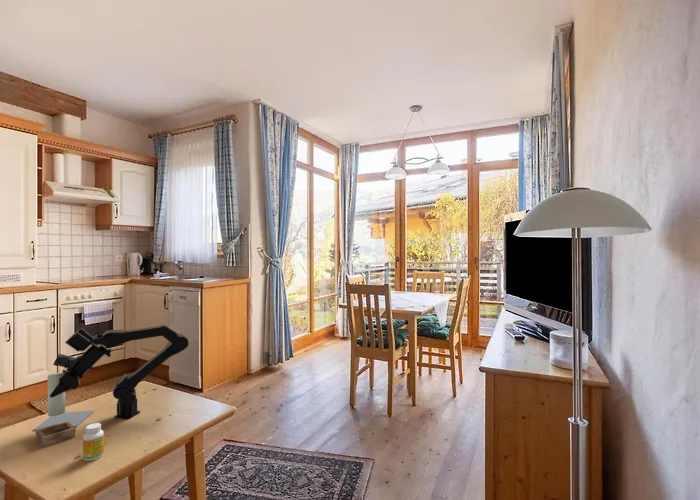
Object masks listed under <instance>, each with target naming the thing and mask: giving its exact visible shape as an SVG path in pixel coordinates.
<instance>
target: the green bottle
mask: <svg viewBox="0 0 700 500" xmlns="http://www.w3.org/2000/svg"><path fill="white" fill-rule="evenodd" d="M62 374H64V372H62V371H61V372H60V371H59V372H54V373H50V374H48V375H47V416H48V417H51V416H57V415H60V414H63V413H65V412H66V391H65V392H63V393H61V394H59V395H57V396H55V397H52V398H51V397H50V394H51V393H52V392H53V390H54V389H55V388H56V387H57V385H58V384H59V377H60V376H62Z"/></svg>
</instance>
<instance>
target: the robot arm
mask: <svg viewBox="0 0 700 500" xmlns="http://www.w3.org/2000/svg"><path fill="white" fill-rule="evenodd" d="M157 337H163V338H164V339H166V340H167V341H168V343H167V344H166V345H165V347H164V348H163V349H162V350H161V351H159V352H158V353H156V354H155V355H154V356H153V357H151V359H149V360H148V361H147V362H145V363H144V364H143V365H141V366H140V367H139V368H138V369H136V371H134V372H133V373H131V374H128V375H127V373H124V374H123V375H122V376H121V377H120V378H118V379H116V380H115V383H114V384H113V386H112V387H113V388H112V396H113V397H114V399H116V400H117V404H116V415H114V416H113V417H114V418H115V419H126V420H129V419H131V418H132V417H134V416H137V415H138V414H140V413H141V410H138V398H137V391H136V387H138V385H139V383H140V382H142V381H143V379H145V378H146V377H148V376H149V375H150V374H151V373H152V372H153V371H155V370H156V369H157V368H159V367H160V366H161V365H162V364H163V363H164V362H165V361H167V360H168V359H169V358H171V357H173V356H174V355H177V354H179V353H181V352H183V351H184V350H185V349H187V348H188V347H189V343H190V342H189V339H188V337H187V336H186V335H185V334H183V333H177V332H176V331H175V330H173V329H171V328H169V326H168V325H166V324H161V325H155V326H149V327H143V328H137V329H128V330H125V329H108V330H106V331H104V333H100V334H96V335H91V334H90V333H89V332H87V331H86V330H85V329H84V328H83V327H82V328H80V329H79V330H77V331H76V332H75V333H72V334H71V335H70V337H69V338H67V340H66V341H65V342H64V343H65V344H67V345H68V346H69V347H71V348H73V350H75V351H76V352H83V353H82V354H81V355H78V356H77V357H74V356H70V355H67V354H63V353H58V354H57V356H56V358H55V360H54V362H53V364H52V365H53V366H55V367H58V366H59V367H61V368H64V369H63V370H62V371H61V372H64V374H62V376H60V377H59V384H58V385H57V387H56V388H55V389H54V390H53V392H52V393H51V394H50V397H51V398H52V397H55V396H57V395H59V394H61V393H63V392H65V393H66V392H67V391H70V390H76V388H78V387H79V385H80V383H81V379H82V378H83V377H84V375H86V373H87V372H89V370H92V369H93V367H94V366H95V364H97V363H98V362H99V360H101V359H102V358H103V357H104V356H106V357H108V358H110V357H112V354H111V351H112V348H114V347H117V346H120V345H123V344H125V343H127V342H132V341H137V340H144V339H151V338H157ZM90 345H91V346H90Z"/></svg>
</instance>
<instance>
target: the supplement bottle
mask: <svg viewBox="0 0 700 500" xmlns="http://www.w3.org/2000/svg"><path fill="white" fill-rule="evenodd" d="M104 433H105V432H104V430H103V429H102V424H101V423H100V422H95V423H91V424H88V425H87V426H86V427H85V433H84V434H83V436H82V460H84V461H85V462H91V461H95V460H98V459H100V458H102V457H103V455H104V454H105V453H104V449H105V448H104V447H105V446H104V445H105V444H104V441H105V439H104V438H105V437H104V436H105V434H104Z"/></svg>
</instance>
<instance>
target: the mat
mask: <svg viewBox="0 0 700 500" xmlns="http://www.w3.org/2000/svg"><path fill="white" fill-rule="evenodd" d="M94 412H95V409H91V410H78V411H65V413H63V414H60V415H57V416H48V418H47V419H45V420H44V421H42V422H41V423H40V424H39V425H37V426H36V427H35V428H33V429H32V431H33V432H36V430H38V429H41V428H45V427H48V426H52V425H55V424H59V423H62V422H65V421H68V422H69V423H70V424H71V425H72V426H74V427H75V428H77V427H79V426H80V425H81V424H82V423H83V422H84V421H86V419H87V418H89V417H90V416H91V415H92V414H93V413H94Z"/></svg>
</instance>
